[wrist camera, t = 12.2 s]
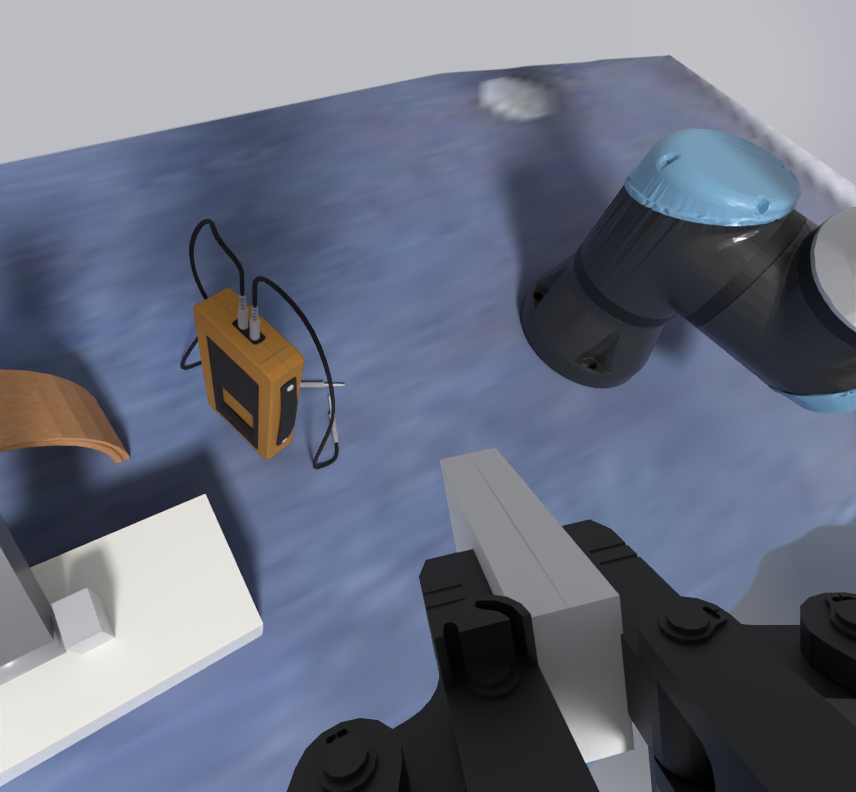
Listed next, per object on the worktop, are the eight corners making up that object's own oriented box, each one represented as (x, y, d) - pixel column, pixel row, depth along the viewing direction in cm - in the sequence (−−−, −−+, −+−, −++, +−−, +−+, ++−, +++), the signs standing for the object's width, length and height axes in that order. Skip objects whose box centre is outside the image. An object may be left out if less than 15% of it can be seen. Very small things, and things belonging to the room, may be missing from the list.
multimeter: (382, 420, 47) (452, 266, 30) (298, 495, 41) (328, 356, 25) (269, 316, 49) (277, 119, 32) (176, 374, 43) (128, 172, 27)
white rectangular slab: (211, 520, 38) (201, 476, 31) (262, 635, 36) (263, 617, 28) (-199, 705, 28) (-364, 705, 21) (-173, 886, 25) (-351, 962, 18)
